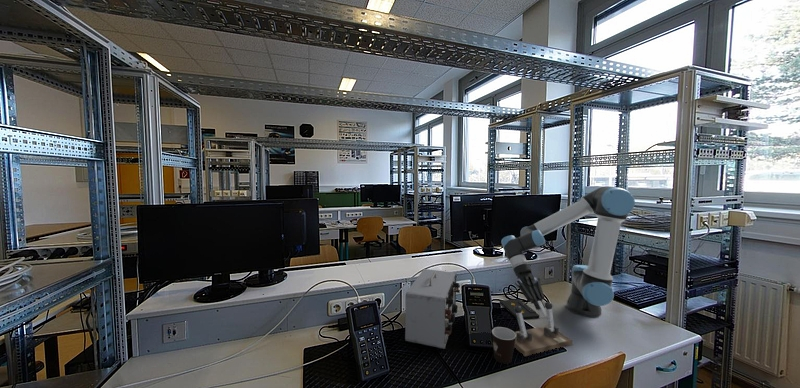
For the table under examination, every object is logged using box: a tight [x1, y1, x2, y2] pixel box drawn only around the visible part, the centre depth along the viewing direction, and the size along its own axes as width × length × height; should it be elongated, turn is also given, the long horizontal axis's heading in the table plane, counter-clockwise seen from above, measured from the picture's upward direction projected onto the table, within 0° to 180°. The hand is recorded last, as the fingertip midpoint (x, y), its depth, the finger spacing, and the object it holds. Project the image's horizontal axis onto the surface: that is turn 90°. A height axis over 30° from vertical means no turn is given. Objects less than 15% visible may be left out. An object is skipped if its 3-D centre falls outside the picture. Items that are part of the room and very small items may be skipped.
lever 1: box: [514, 306, 528, 339], centre depth 118 cm, size 3×3×12 cm
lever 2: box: [544, 301, 555, 333], centre depth 121 cm, size 3×3×12 cm
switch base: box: [513, 324, 573, 357], centre depth 119 cm, size 24×12×5 cm, turn 108°
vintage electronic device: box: [404, 268, 461, 350], centre depth 128 cm, size 32×18×25 cm, turn 161°
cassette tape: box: [499, 298, 541, 321], centre depth 146 cm, size 18×12×2 cm, turn 8°
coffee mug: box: [490, 326, 516, 365], centre depth 110 cm, size 12×9×10 cm
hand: (544, 316), depth 123 cm, fingers closed
